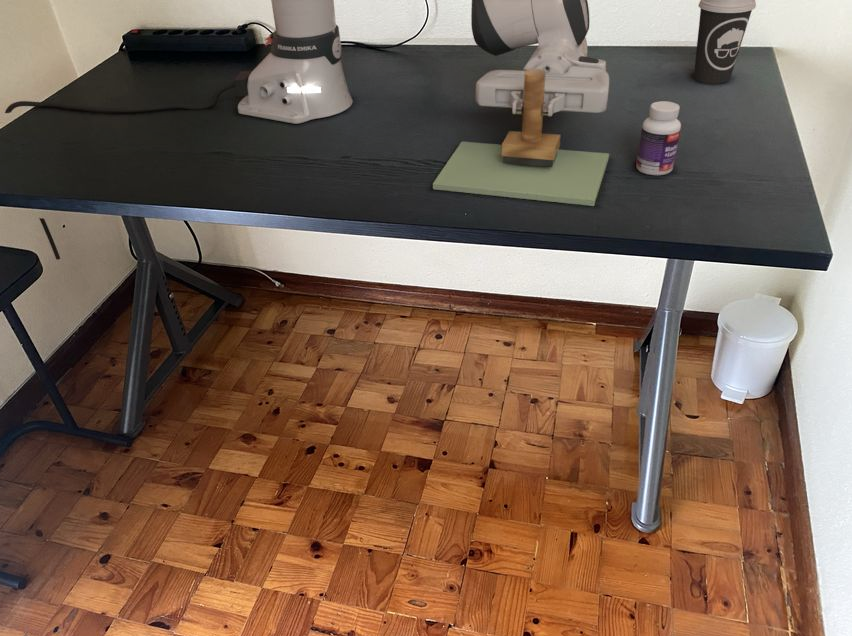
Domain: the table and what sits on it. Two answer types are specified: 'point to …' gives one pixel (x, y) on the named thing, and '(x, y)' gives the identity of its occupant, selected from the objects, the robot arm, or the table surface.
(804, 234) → the table surface
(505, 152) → the scrub brush
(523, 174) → the mat
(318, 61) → the robot arm
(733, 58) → the coffee cup
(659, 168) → the pill bottle
